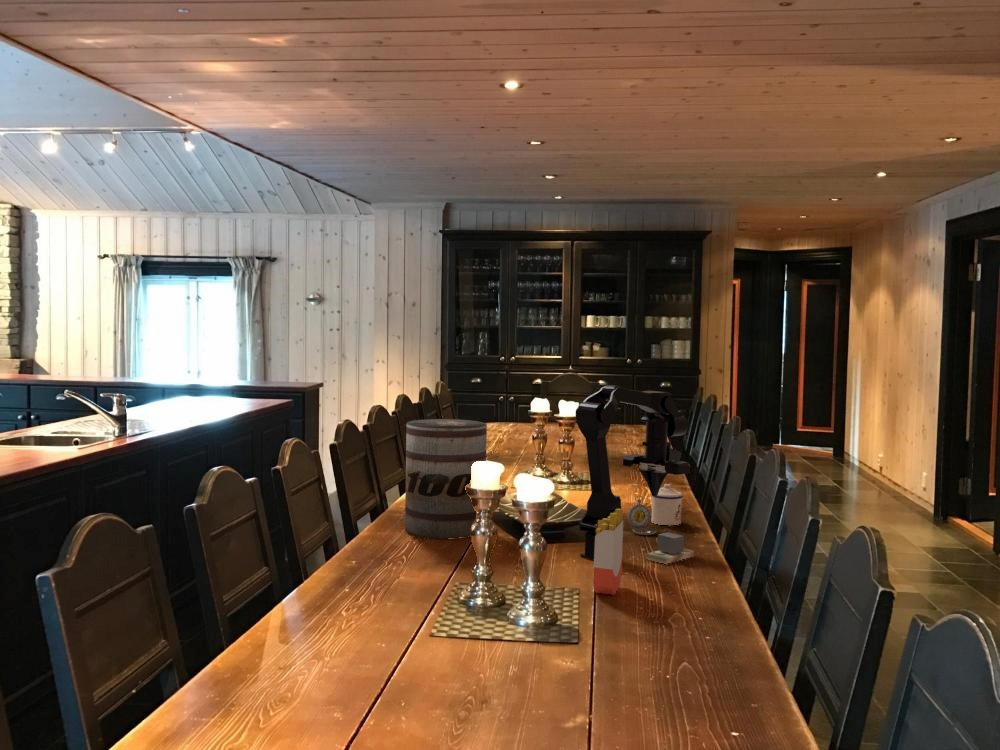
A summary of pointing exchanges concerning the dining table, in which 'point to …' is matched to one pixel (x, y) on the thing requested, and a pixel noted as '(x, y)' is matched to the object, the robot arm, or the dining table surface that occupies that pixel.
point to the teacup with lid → (667, 506)
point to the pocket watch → (637, 514)
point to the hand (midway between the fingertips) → (654, 495)
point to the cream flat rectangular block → (669, 556)
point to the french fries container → (608, 553)
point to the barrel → (441, 476)
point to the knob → (670, 543)
